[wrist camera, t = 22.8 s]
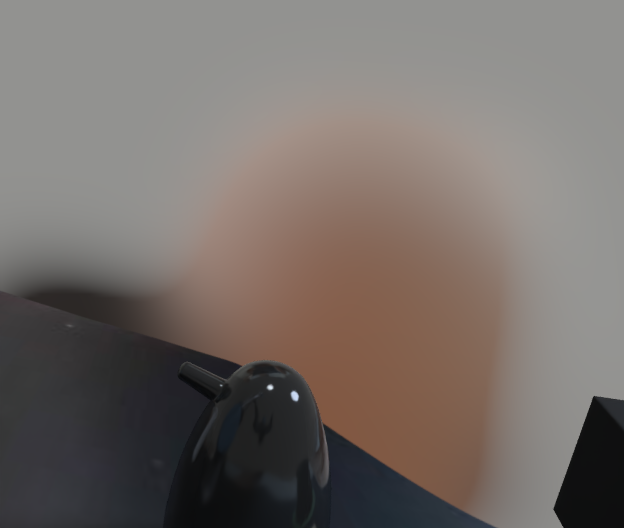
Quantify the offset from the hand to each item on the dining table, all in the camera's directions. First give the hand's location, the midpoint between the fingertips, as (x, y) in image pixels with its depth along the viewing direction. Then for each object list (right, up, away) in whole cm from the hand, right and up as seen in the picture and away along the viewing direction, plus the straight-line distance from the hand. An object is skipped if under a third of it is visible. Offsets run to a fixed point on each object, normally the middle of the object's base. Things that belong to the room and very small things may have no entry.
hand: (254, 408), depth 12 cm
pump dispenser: (-4, -17, +27) cm, 32 cm away
